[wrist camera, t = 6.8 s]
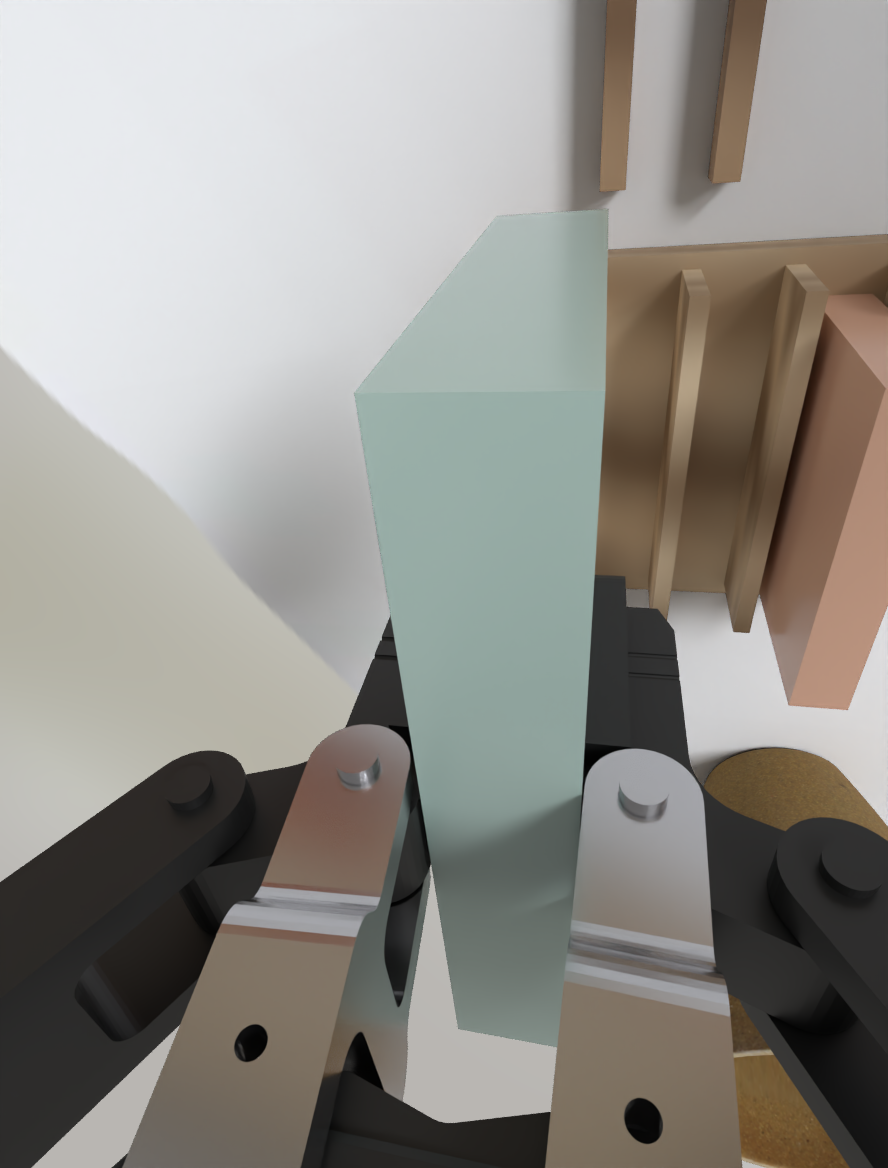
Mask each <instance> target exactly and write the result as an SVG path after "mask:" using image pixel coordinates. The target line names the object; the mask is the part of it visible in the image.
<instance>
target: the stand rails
mask: <svg viewBox="0 0 888 1168" xmlns="http://www.w3.org/2000/svg"><path fill="white" fill-rule="evenodd" d="M766 3H767V0H729V8H728V16H727V24H726V33H725V41H724V49H723V57H722V66H721V74H720V82H719V90H718V98H717V107H716V115H715V123H714V131H713V140H712V148H711V156H710V164H709V172H708V178H709V179H710V181H711V182H712V184H714V183H728V182H740V180H741V173H742V166H743V160H744V153H745V146H746V139H747V132H748V125H749V119H750V112H751V105H752V98H753V91H754V85H755V78H756V71H757V64H758V57H759V50H760V44H761V37H762V30H763V23H764V16H765V10H766ZM636 4H637V0H607V17H606V42H605V67H604V93H603V118H602V143H601V168H600V192H605V191H619V190H625V189H626V173H627V156H628V139H629V122H630V105H631V88H632V72H633V55H634V38H635V21H636Z"/></svg>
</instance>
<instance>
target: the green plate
mask: <svg viewBox="0 0 888 1168" xmlns="http://www.w3.org/2000/svg"><path fill="white" fill-rule="evenodd" d="M607 265H608V209H598V210H582V211H566V212H550V213H534V214H518V215H502V216H496V218H495V219H494V220H493V221H492V223H491V224H490V225H489V226H488V228H487V229H486V230H485V231H484V233H483V234H482V235H481V236H480V238H479V239H478V240H477V241H476V243H475V244H474V245H473V246H472V247H471V249H470V250H469V251H468V252H467V254H466V255H465V256H464V257H463V259H462V260H461V261H460V262H459V264H458V265H457V266H456V267H455V269H454V270H453V271H452V272H451V274H450V275H449V276H448V277H447V279H446V280H445V281H444V282H443V284H442V285H441V286H440V287H439V288H438V290H437V291H436V292H435V293H434V295H433V296H432V297H431V298H430V300H429V301H428V302H427V303H426V305H425V306H424V307H423V308H422V310H421V311H420V312H419V313H418V315H417V316H416V317H415V318H414V320H413V321H412V322H411V323H410V324H409V326H408V327H407V328H406V329H405V331H404V332H403V333H402V334H401V336H400V337H399V338H398V339H397V341H396V342H395V343H394V344H393V346H392V347H391V348H390V349H389V351H388V352H387V353H386V354H385V356H384V357H383V358H382V359H381V361H380V362H379V363H378V364H377V365H376V367H375V368H374V369H373V370H372V372H371V373H370V374H369V375H368V377H367V378H366V379H365V380H364V382H363V383H362V384H361V385H360V387H359V388H358V389H357V390H356V392H355V393H354V395H355V401H356V407H357V413H358V419H359V425H360V431H361V438H362V444H363V450H364V456H365V462H366V468H367V474H368V480H369V486H370V493H371V499H372V505H373V511H374V517H375V523H376V529H377V535H378V541H379V548H380V554H381V560H382V566H383V572H384V578H385V584H386V590H387V596H388V603H389V609H390V615H391V621H392V627H393V633H394V639H395V645H396V651H397V658H398V664H399V670H400V676H401V682H402V688H403V694H404V700H405V706H406V713H407V719H408V725H409V731H410V737H411V743H412V749H413V755H414V761H415V768H416V774H417V780H418V786H419V792H420V798H421V804H422V810H423V816H424V823H425V829H426V835H427V841H428V847H429V853H430V859H431V865H432V871H433V878H434V884H435V889H436V895H437V902H438V908H439V914H440V920H441V926H442V933H443V939H444V945H445V951H446V957H447V963H448V969H449V975H450V981H451V988H452V994H453V999H454V1006H455V1012H456V1018H457V1024H458V1029H461V1030H467V1031H472V1032H477V1033H483V1034H489V1035H494V1036H500V1037H505V1038H510V1039H515V1040H521V1041H527V1042H532V1043H537V1044H542V1045H548V1046H553V1047H557V1045H558V1035H559V1025H560V1015H561V1005H562V995H563V985H564V975H565V965H566V956H567V948H568V942H569V938H570V930H571V920H572V910H573V900H574V890H575V879H576V869H577V859H578V849H579V834H580V817H581V800H582V783H583V765H584V748H585V731H586V714H587V697H588V680H589V663H590V645H591V628H592V611H593V594H594V577H595V560H596V542H597V525H598V508H599V491H600V474H601V457H602V440H603V422H604V405H605V382H606V323H607Z"/></svg>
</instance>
